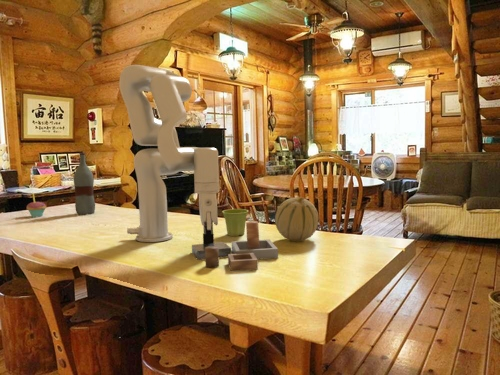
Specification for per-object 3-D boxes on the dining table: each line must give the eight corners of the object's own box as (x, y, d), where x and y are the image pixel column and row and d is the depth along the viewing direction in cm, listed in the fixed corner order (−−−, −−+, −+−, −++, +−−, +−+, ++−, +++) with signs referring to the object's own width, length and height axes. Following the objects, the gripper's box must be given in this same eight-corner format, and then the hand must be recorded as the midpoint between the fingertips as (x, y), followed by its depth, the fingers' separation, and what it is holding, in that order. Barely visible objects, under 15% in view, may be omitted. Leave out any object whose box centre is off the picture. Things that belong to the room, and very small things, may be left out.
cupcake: (41, 217, 193) (39, 192, 192) (23, 217, 194) (21, 192, 192) (50, 214, 202) (48, 190, 201) (33, 214, 202) (31, 190, 201)
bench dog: (205, 268, 109) (205, 249, 108) (205, 264, 112) (204, 246, 112) (219, 267, 109) (219, 248, 109) (218, 263, 113) (217, 245, 112)
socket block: (231, 270, 106) (230, 261, 106) (228, 263, 113) (228, 254, 113) (257, 269, 107) (257, 259, 107) (253, 261, 114) (253, 252, 114)
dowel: (249, 254, 120) (247, 224, 119) (246, 251, 123) (244, 221, 122) (261, 252, 121) (259, 222, 120) (257, 249, 124) (256, 220, 123)
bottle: (88, 215, 198) (84, 152, 194) (71, 214, 200) (67, 153, 197) (99, 212, 207) (96, 152, 204) (83, 211, 209) (79, 152, 206)
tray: (236, 260, 115) (236, 251, 115) (231, 250, 127) (231, 241, 127) (278, 258, 117) (277, 248, 117) (269, 247, 129) (269, 239, 129)
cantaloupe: (290, 233, 149) (290, 192, 147) (326, 239, 140) (326, 195, 138) (266, 241, 138) (265, 197, 136) (303, 248, 128) (303, 200, 127)
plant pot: (245, 237, 144) (245, 213, 143) (219, 236, 146) (219, 212, 145) (251, 232, 153) (250, 209, 152) (226, 231, 155) (226, 208, 154)
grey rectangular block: (197, 261, 117) (197, 251, 117) (192, 254, 125) (191, 244, 124) (231, 257, 120) (230, 247, 120) (223, 251, 128) (223, 241, 128)
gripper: (221, 190, 119) (223, 251, 121) (217, 185, 134) (218, 240, 136) (195, 190, 118) (197, 253, 120) (193, 186, 133) (195, 241, 135)
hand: (208, 246), depth 128 cm, fingers closed
